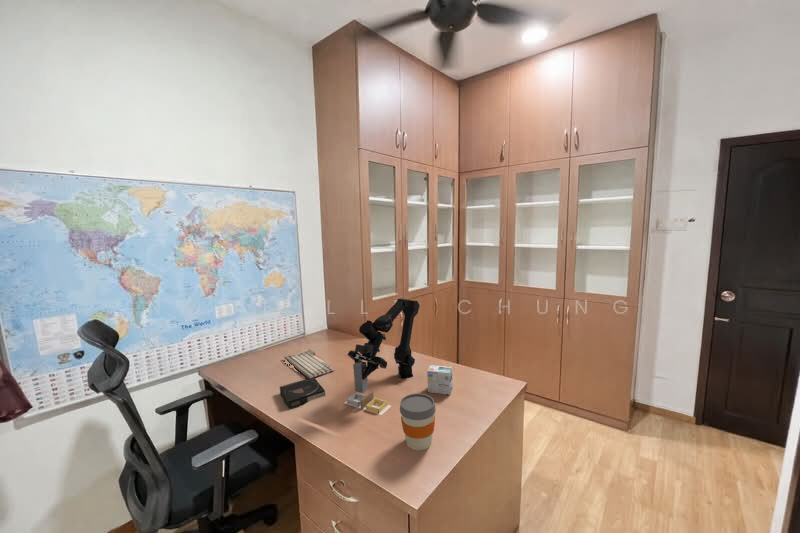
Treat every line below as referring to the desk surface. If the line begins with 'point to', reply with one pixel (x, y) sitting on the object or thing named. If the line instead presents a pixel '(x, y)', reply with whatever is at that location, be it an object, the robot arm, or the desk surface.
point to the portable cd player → (301, 392)
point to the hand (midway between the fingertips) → (358, 377)
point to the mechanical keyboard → (309, 364)
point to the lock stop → (360, 377)
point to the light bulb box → (440, 379)
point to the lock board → (368, 403)
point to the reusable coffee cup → (418, 420)
